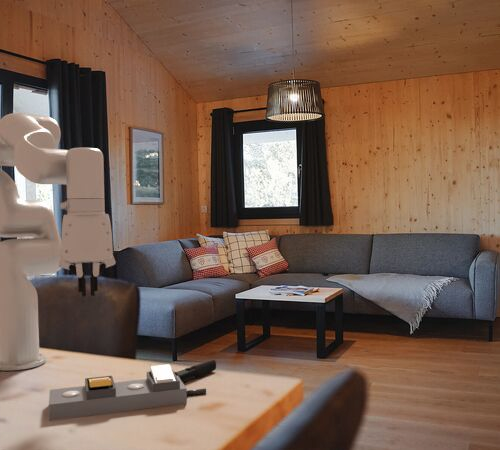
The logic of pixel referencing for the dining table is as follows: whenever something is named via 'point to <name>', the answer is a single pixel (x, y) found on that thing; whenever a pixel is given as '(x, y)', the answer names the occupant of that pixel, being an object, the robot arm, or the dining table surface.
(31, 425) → the dining table surface
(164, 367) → the white rocker switch
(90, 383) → the amber rocker
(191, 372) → the electric trimmer
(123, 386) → the power strip
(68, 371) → the dining table surface
